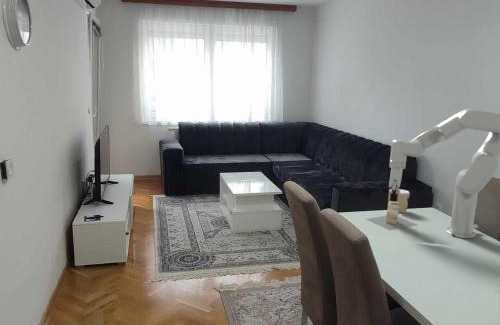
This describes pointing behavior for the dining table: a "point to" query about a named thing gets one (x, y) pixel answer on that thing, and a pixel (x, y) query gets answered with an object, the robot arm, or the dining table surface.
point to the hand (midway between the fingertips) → (393, 199)
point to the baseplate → (382, 222)
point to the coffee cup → (403, 200)
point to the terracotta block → (397, 195)
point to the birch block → (393, 208)
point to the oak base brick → (391, 218)
